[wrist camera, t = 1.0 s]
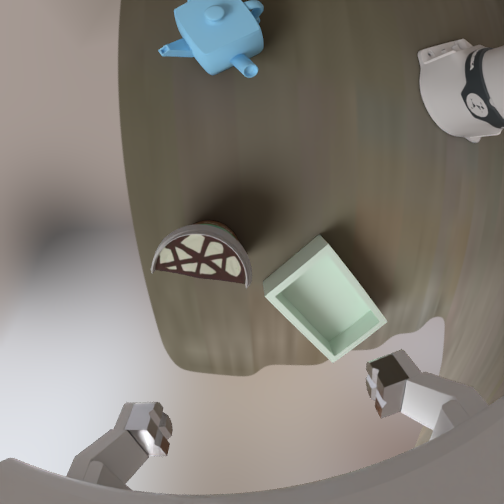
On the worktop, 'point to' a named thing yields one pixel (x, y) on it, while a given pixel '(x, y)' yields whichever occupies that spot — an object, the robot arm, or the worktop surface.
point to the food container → (204, 253)
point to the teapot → (219, 34)
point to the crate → (323, 300)
